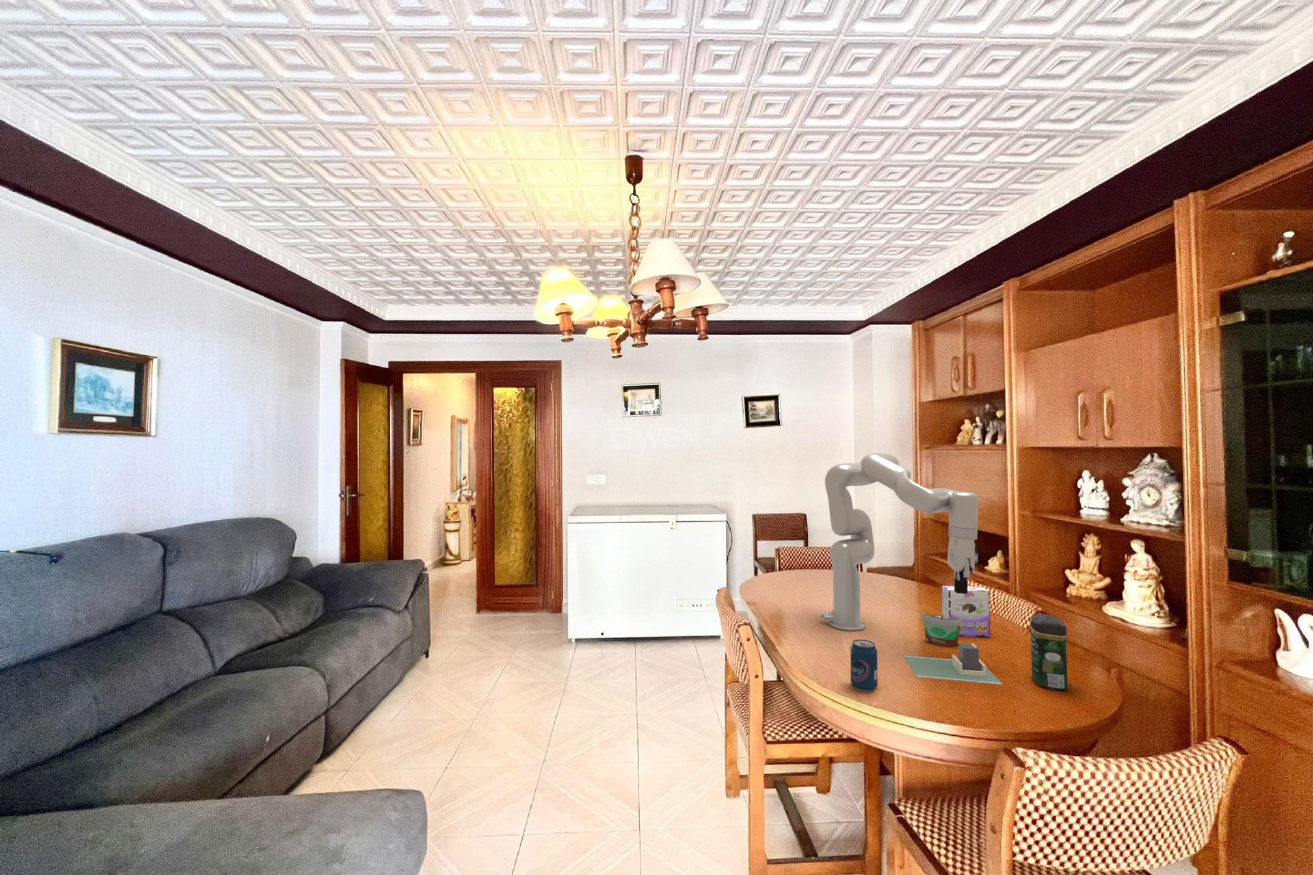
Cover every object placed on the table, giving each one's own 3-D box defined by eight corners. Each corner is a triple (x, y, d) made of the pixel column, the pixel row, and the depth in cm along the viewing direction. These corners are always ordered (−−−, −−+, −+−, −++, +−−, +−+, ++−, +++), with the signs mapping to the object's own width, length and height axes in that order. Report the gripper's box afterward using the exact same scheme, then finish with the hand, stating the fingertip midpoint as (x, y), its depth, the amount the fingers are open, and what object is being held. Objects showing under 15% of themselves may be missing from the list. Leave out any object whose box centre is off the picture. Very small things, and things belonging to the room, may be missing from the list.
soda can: (846, 686, 145) (845, 642, 146) (857, 678, 150) (857, 636, 151) (871, 695, 141) (870, 649, 141) (881, 686, 145) (881, 643, 146)
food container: (920, 646, 175) (920, 616, 175) (921, 640, 180) (920, 611, 181) (963, 653, 169) (963, 622, 170) (962, 646, 175) (962, 616, 175)
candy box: (982, 631, 189) (981, 585, 189) (990, 637, 183) (990, 590, 184) (941, 630, 190) (941, 584, 191) (949, 636, 185) (948, 589, 185)
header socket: (960, 674, 151) (960, 663, 151) (952, 665, 157) (952, 654, 157) (985, 676, 149) (985, 665, 149) (977, 667, 156) (977, 656, 156)
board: (916, 681, 149) (916, 676, 149) (902, 659, 165) (902, 654, 165) (1003, 689, 144) (1003, 684, 144) (981, 665, 160) (981, 661, 160)
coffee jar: (1028, 673, 154) (1028, 610, 154) (1062, 679, 150) (1061, 613, 151) (1034, 687, 145) (1034, 619, 146) (1070, 693, 142) (1069, 624, 142)
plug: (963, 672, 152) (963, 646, 152) (958, 666, 156) (958, 641, 156) (978, 673, 151) (978, 647, 151) (973, 668, 155) (973, 642, 155)
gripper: (941, 527, 168) (939, 584, 168) (956, 536, 153) (954, 599, 154) (968, 529, 166) (966, 586, 166) (985, 538, 152) (983, 601, 152)
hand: (960, 592), depth 160 cm, fingers closed
